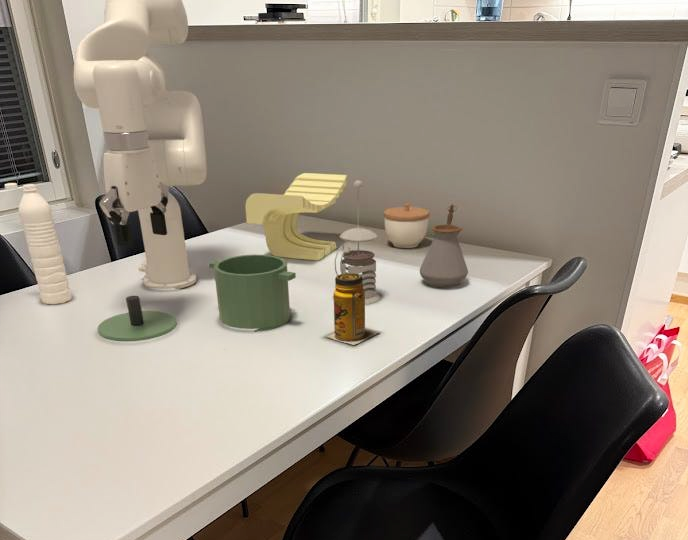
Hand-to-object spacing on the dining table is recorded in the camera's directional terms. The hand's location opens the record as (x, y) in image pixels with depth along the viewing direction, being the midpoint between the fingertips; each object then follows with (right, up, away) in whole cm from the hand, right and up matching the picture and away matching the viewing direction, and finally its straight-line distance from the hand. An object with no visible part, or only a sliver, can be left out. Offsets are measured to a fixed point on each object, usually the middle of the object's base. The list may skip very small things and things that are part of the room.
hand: (143, 239), depth 130 cm
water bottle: (-28, -6, +26) cm, 39 cm away
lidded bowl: (+56, +19, +62) cm, 86 cm away
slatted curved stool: (+27, +15, +58) cm, 65 cm away
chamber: (+20, -12, +13) cm, 27 cm away
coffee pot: (+63, +3, +36) cm, 73 cm away
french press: (+41, -6, +24) cm, 48 cm away
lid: (-4, -15, +9) cm, 18 cm away
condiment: (+40, -18, +5) cm, 44 cm away
